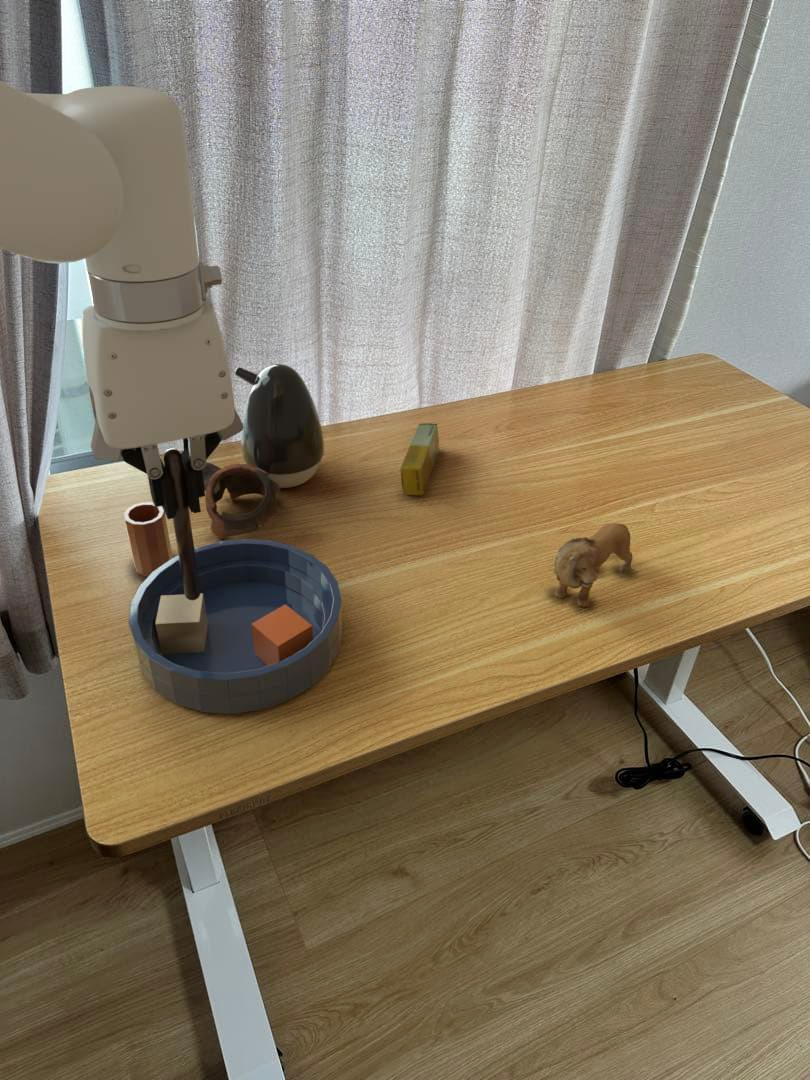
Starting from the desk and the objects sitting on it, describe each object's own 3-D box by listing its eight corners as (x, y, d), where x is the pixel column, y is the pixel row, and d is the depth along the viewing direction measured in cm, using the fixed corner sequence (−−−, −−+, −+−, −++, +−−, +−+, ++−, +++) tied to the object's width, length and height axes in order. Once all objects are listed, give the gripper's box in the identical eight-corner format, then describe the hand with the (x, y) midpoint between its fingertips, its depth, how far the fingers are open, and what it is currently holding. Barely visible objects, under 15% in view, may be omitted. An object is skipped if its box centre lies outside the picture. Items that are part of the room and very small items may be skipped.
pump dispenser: (258, 450, 107) (249, 343, 98) (334, 461, 106) (332, 353, 97) (230, 492, 99) (217, 379, 90) (311, 504, 98) (306, 391, 89)
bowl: (166, 747, 69) (157, 708, 66) (119, 607, 82) (109, 569, 79) (374, 675, 76) (374, 637, 73) (299, 557, 90) (297, 521, 87)
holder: (139, 581, 86) (128, 528, 81) (131, 559, 88) (120, 507, 84) (177, 571, 87) (168, 518, 83) (168, 550, 90) (158, 498, 86)
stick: (187, 605, 73) (165, 456, 63) (183, 595, 74) (160, 447, 64) (203, 600, 74) (182, 452, 64) (198, 591, 75) (177, 443, 65)
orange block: (280, 677, 75) (278, 646, 72) (254, 654, 77) (251, 623, 74) (314, 655, 77) (312, 625, 75) (287, 634, 79) (285, 604, 77)
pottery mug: (300, 506, 98) (294, 476, 91) (257, 569, 95) (247, 544, 87) (218, 461, 100) (206, 428, 92) (173, 521, 97) (156, 492, 89)
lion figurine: (580, 633, 82) (596, 565, 76) (534, 611, 84) (546, 543, 79) (639, 562, 91) (657, 496, 86) (596, 544, 94) (611, 479, 88)
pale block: (161, 654, 76) (155, 624, 74) (166, 625, 80) (160, 595, 77) (204, 652, 77) (199, 621, 74) (208, 623, 80) (203, 593, 78)
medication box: (420, 448, 109) (418, 422, 107) (439, 449, 109) (438, 422, 107) (401, 495, 100) (399, 467, 98) (423, 496, 99) (421, 468, 97)
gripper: (238, 261, 62) (255, 466, 73) (21, 286, 56) (74, 504, 67) (271, 294, 57) (283, 509, 68) (35, 325, 51) (91, 555, 62)
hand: (179, 506), depth 67 cm, fingers closed on stick, 1 cm apart
